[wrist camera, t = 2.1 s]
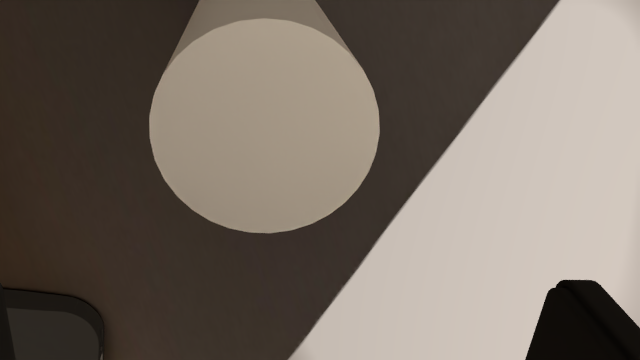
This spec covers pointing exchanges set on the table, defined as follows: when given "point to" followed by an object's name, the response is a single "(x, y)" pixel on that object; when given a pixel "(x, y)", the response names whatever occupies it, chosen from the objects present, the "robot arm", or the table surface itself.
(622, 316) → the robot arm
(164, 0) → the table surface
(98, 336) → the media streaming box
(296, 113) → the cylindrical container
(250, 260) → the table surface
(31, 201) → the table surface
